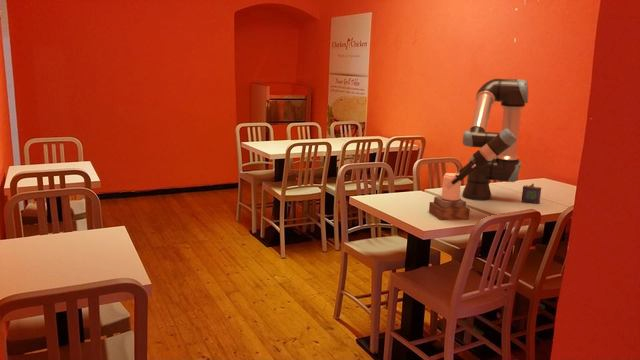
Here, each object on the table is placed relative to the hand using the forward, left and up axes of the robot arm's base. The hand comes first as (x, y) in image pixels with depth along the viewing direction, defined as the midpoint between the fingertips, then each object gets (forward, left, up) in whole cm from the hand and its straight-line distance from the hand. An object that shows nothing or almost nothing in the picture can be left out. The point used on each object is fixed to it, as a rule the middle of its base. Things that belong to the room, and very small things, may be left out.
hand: (448, 184), depth 246 cm
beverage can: (-1, +1, -7) cm, 7 cm away
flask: (-58, -20, -15) cm, 64 cm away
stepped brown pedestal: (-1, +1, -15) cm, 15 cm away
